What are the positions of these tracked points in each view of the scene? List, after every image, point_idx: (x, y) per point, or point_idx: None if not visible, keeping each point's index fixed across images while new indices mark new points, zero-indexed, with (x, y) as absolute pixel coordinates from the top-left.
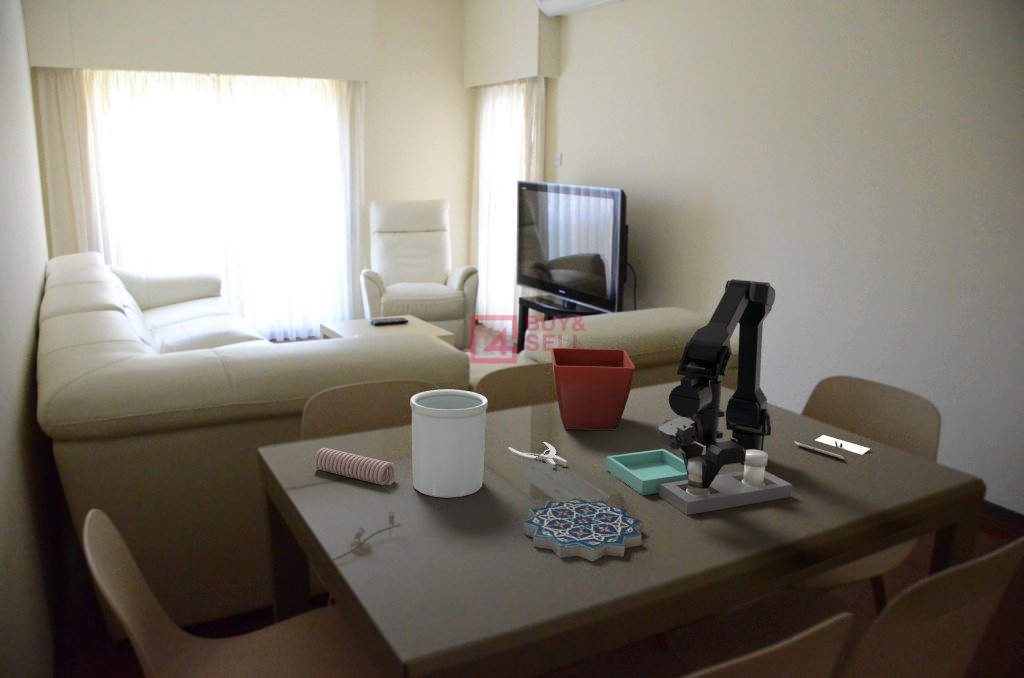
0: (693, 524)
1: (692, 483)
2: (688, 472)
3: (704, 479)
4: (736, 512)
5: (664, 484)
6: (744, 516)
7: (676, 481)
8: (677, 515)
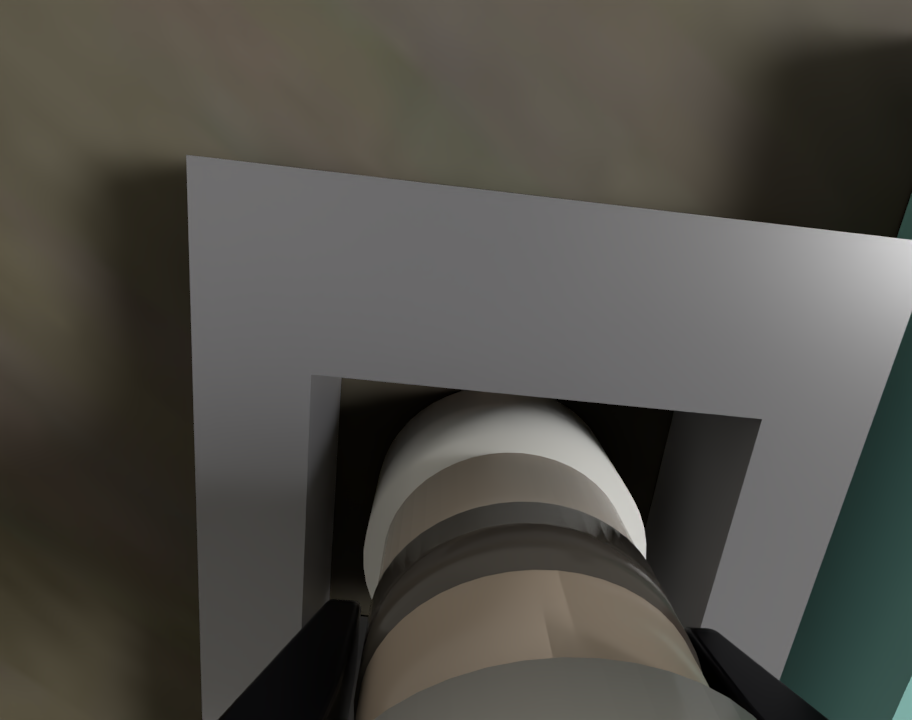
0: (10, 53)
1: (493, 542)
2: (763, 711)
3: (236, 717)
4: (148, 633)
5: (881, 295)
6: (52, 636)
7: (879, 551)
8: (294, 51)
